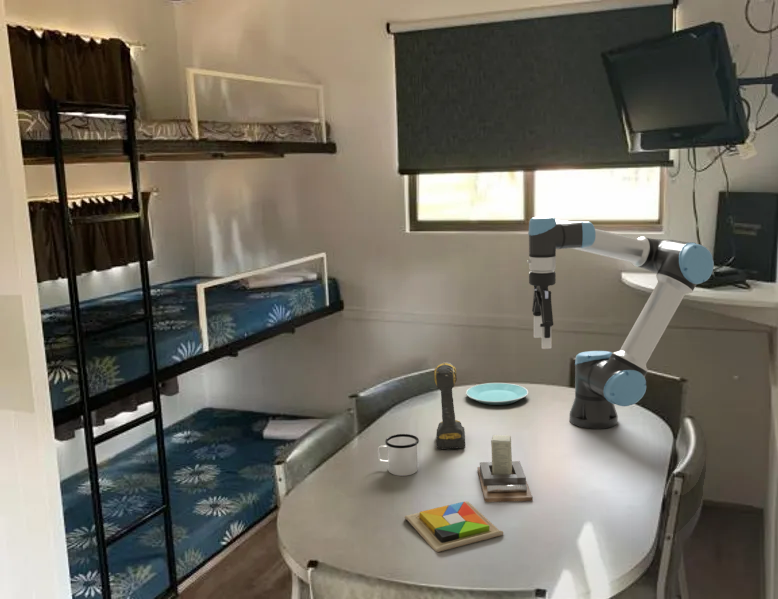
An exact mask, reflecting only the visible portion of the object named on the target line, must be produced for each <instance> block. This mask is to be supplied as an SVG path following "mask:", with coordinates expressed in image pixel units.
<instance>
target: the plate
mask: <svg viewBox="0 0 778 599" xmlns="http://www.w3.org/2000/svg"><path fill="white" fill-rule="evenodd" d="M528 394H529V390H528V389H527V388H526V387H524V386H522V385H518V384H513V383H506V382H487V383H481V384H477V385H472V386H471V387H469V388H468V389H466V392H465V395H466V396H467V397H468V398H470V399H471V400H474V401H476V402H479V403H481V404H485V405H491V406H492V405H493V406H494V405H495V406H502V405H509V404H513V403H515V402H517V401H519V400H521V399H523V398H525V397H527V396H528Z"/></svg>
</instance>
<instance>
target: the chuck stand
mask: <svg viewBox="0 0 778 599" xmlns="http://www.w3.org/2000/svg"><path fill="white" fill-rule="evenodd" d="M477 475H478V478H479V481H480V487H481V491H482V494H483V500H484V503H498V502H499V503H500V502H501V503H502V502H504V503H505V502H533V494H532V491H531V490H530V486H529V484H528V481H527V476H526V474H525V471H524V469H523V467H522V464H521V461H520V460H518V461H516V460H515V461H513V460H512V474H511V475H492V461H486V462H485V461H483V462H479V466H478V467H477ZM489 485H527V492H497V493H488V492H487V486H489Z"/></svg>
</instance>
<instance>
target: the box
mask: <svg viewBox="0 0 778 599" xmlns="http://www.w3.org/2000/svg"><path fill="white" fill-rule="evenodd" d="M490 443H491V444H490V445H491V448H490V449H491V462H492V475H511V474H512V461H513V458H512V457H513V456H512V436H511V435H506V434H505V435H502V434H501V435H500V434H499V435H497V434H496V435H495V434H493V435H492V437H491V439H490Z"/></svg>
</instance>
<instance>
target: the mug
mask: <svg viewBox="0 0 778 599" xmlns="http://www.w3.org/2000/svg"><path fill="white" fill-rule="evenodd" d="M419 442H420V440H419V438H418V437H417V435H416V436H415V435H413V434H409V433H408V434H407V433H406V434H405V433H400V434H399V433H398V434H393V435H390V436H388V437H386V438H385V441H384V443H385V445H384V444H383V445H379V446H378V447H377V458H378V461H379V462H381V463H386V464H387V471H388V472H389V473H390V474H392V475H394V476H399V477H400V476H401V477H404V476H410V475H413V474H415V473H417V472H418V470H419V469H418V468H419V467H418V465H419V464H418V463H419V462H418V444H419ZM381 448H383V449H387V459H381V453H380V450H381Z"/></svg>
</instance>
